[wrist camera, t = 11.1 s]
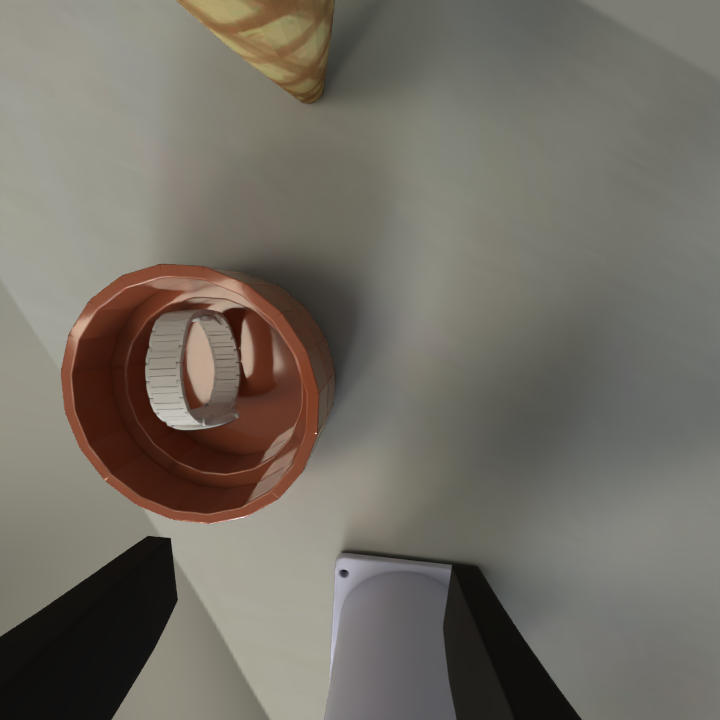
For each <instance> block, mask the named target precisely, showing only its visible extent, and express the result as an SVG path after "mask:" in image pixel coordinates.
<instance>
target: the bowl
mask: <svg viewBox="0 0 720 720" xmlns="http://www.w3.org/2000/svg"><path fill="white" fill-rule="evenodd" d="M201 309H209V310H214V311H219V312H220V313H222V314H223V315H224V316H225V317H226V318H227V320H228V321H229V324H230V325H229V326H231V328H232V330H233V333H234V337H235V339H236V342H237V346H238V350H239V355H240V362H238V363H241V375H238V376H241V382H240V388H239V394H238V398H237V400H236V402H237V408H236V411H237V412H239V413H240V417H239V418H236V419H235V420H234V421H233V422H231V423H228V424H226V425H223V426H219V427H215V428H210V429H203V430H193V431H182V430H177V429H175V428H173V427H170V426H167V423H166V422H164V421H162V420H161V419H160V418H159V417H157V415H156V413H155V412H154V411H153V408H152V406H151V404H150V399H151V398H149V396H148V392H147V387H146V383H147V382H150V381H146V377H145V367H146V365H148V364H146V356H147V352H148V349H149V348H151V347H149V341H150V336H151V333H152V332H153V331H152V329H153V326H154V324H155V322H156V320H157V319H159V318H160V316H161V315H163V314H165V313H170V312H173V311H184V310H201ZM187 332H188V334H187V339H186V346H184V347H185V352H184V358H183V362H182V364H183V381H184V387H185V393H186V396H185V397H186V398H187V401H188V404H189V406H190V410H192V409H196V408H200V407H202V406H203V405H204V404H205V403H208V402H209V400H210V395H211V392H212V389H214V388H213V382H214V377H217V376H214V364H216V363H213V357H212V351H214V350H211V349H210V346H209V343H208V339H207V338H206V335H205V333H204V331H203V328H202V327H201V326H200V324H199V323H198V322H191V324H190V327H189V329H188V331H187ZM235 350H236V349H235ZM334 371H335V369H334V365H333V361H332V358H331V354H330V351H329V347H328V343H327V340H326V337H325V336H324V334H323V333H322V331H321V329H320V328H319V326H318V325H317V323H316V322H315V320H314V319H313V317H312V316H311V314H310V313H309V311H308V310H307V309H306V308H305V307H304V306H303V305H302V304H301V303H299V302H298V301H297V300H296V299H295V298H293V297H292V296H291V295H290V294H288V293H287V292H286V291H285V290H284V289H282V288H281V287H279V286H277V285H275V284H272V283H270V282H267V281H265V280H262V279H260V278H257V277H255V276H252V275H250V274H247V273H241V272H235V271H229V270H223V269H217V268H212V267H206V266H194V265H175V264H158V265H155V266H151V267H148V268H145V269H141V270H138V271H135V272H132V273H128V274H125V275H122V276H121V277H119V278H118V279H116V280H115V281H114V282H112V283H111V284H110V285H108V286H107V287H106V288H105V289H103V290H102V291H101V292H99V293H98V294H97V295H96V296H94V297H93V298H92V299H90V301H89V302H88V303H87V305H86V307H85V308H84V310H83V311H82V313H81V315H80V316H79V318H78V320H77V321H76V323H75V324H74V326H73V328H72V329H71V331H70V333H69V335H68V340H67V344H66V349H65V354H64V359H63V364H62V368H61V380H62V390H63V399H64V408H65V411H66V412H65V413H66V416H67V418H68V421H69V423H70V425H71V428H72V431H73V433H74V435H75V437H76V440H77V443H78V445H79V447H80V448H81V451H82V452H83V453H84V454H85V456H86V457H87V458H88V460H89V461H90V462H91V464H92V465H93V466H94V467H95V469H96V470H97V471H98V472H99V474H100V475H101V476H102V478H103V479H104V480H106V482H107V483H108V484H110V485H111V486H112V487H114V488H115V489H116V490H118V491H119V492H120V493H121V494H123V495H124V496H125V497H127V498H128V499H129V500H131V501H132V502H133V503H135V504H137V505H138V506H140V507H143V508H145V509H148V510H150V511H152V512H155V513H157V514H160V515H162V516H165V517H167V518H169V519H173V520H179V521H188V522H197V523H206V524H210V523H211V524H213V523H218V522H223V521H228V520H233V519H239V518H244V517H247V516H249V515H251V514H253V513H255V512H257V511H258V510H260V509H262V508H264V507H265V506H267V505H269V504H271V503H272V502H274V501H276V500H278V499H279V498H280V497H281V496H282V495H283V494H284V493H285V492H286V490H287V489H288V488H289V487H290V486H291V485H292V483H293V482H294V481H295V480H296V479H297V478H298V477H299V475H300V474H301V473H302V472H303V470H304V469H305V467H306V465H307V463H308V461H309V459H310V457H311V455H312V453H313V451H314V449H315V447H316V445H317V443H318V441H319V439H320V437H321V435H322V433H323V430H324V428H325V425H326V423H327V420H328V418H329V415H330V413H331V410H332V407H333V405H334V404H333V403H334V389H335V372H334ZM234 372H237V371H234ZM166 376H167V375H166Z"/></svg>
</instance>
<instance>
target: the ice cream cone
mask: <svg viewBox="0 0 720 720" xmlns="http://www.w3.org/2000/svg"><path fill="white" fill-rule="evenodd" d="M176 1H177V2H178V3H179V4H181V5H182V6H183V7H184V8H185V9H186V10H187V11H188V12H190V13H191V14H192V15H193V16H194V17H195V18H196V19H198V20H199V21H200V22H201V23H202V24H203V25H204V26H206V27H207V28H208V29H209V30H210V31H211V32H212V33H214V34H215V35H216V36H217V37H218V38H219V39H220V40H222V41H223V42H224V43H225V44H226V45H227V46H229V47H230V48H231V49H232V50H234V51H235V52H236V53H237V54H239V55H240V56H241V57H242V58H244V59H245V60H246V61H247V62H249V63H250V64H251V65H252V66H254V67H255V68H256V69H257V70H259V71H260V72H261V73H263V74H264V75H265V76H267V77H268V78H269V79H271V80H272V81H274V82H275V83H276V84H278V85H279V86H280V87H282V88H283V89H284V90H286V91H287V92H288V93H290V94H291V95H292V96H294V97H295V98H296V99H298V100H299V101H301V102H302V103H307V104H310V103H314V102H316V101H317V100H318V99H320V98H321V96H322V94H323V89H324V82H325V75H326V68H327V61H328V54H329V47H330V40H331V32H332V23H333V13H334V4H335V0H176Z"/></svg>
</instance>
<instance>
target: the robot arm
mask: <svg viewBox="0 0 720 720" xmlns="http://www.w3.org/2000/svg"><path fill="white" fill-rule="evenodd" d="M342 569H345V570H347V572H343V571H342ZM177 600H178V598H177V591H176V581H175V572H174V563H173V554H172V545H171V538H164V537H153V536H147V537H146V538H144V539H143V540H141V541H140V542H138V543H137V544H135V545H134V546H132V547H131V548H129V549H128V550H126V551H125V552H124V553H122V554H121V555H119V556H118V557H116V558H115V559H114V560H112V561H111V562H109V563H108V564H107V565H105V566H104V567H102V568H101V569H99V570H98V571H97V572H96V573H94V574H92V575H91V576H90V577H88V578H87V579H85V580H84V581H82V582H81V583H79V584H78V585H77V586H75V587H74V588H72V589H71V590H69V591H68V592H66V593H65V594H64V595H62V596H61V597H59V598H58V599H56V600H55V601H53V602H52V603H51V604H49V605H48V606H46V607H45V608H43V609H42V610H41V611H39V612H38V613H36V614H34V615H33V616H31V617H30V618H28V619H27V620H25V621H24V622H22V623H21V624H19V625H17V626H16V627H15V628H13V629H11V630H10V631H8V632H7V633H5V634H4V635H2V636H1V637H0V720H111V719H112V718H113V716H114V715H115V713H116V711H117V710H118V708H119V707H120V705H121V703H122V702H123V700H124V698H125V697H126V695H127V693H128V692H129V690H130V688H131V687H132V685H133V683H134V682H135V680H136V678H137V677H138V675H139V674H140V672H141V670H142V669H143V667H144V665H145V664H146V662H147V660H148V658H149V657H150V655H151V653H152V652H153V650H154V648H155V646H156V644H157V642H158V640H159V638H160V636H161V634H162V632H163V630H164V628H165V626H166V624H167V622H168V620H169V618H170V616H171V613H172V611H173V609H174V607H175V605H176V603H177ZM324 720H582V719H581V718H580V717H579V715H578V714H577V713H576V711H575V710H574V709H573V707H572V706H571V705H570V703H569V702H568V701H567V699H566V698H565V697H564V695H563V694H562V692H561V691H560V690H559V688H558V687H557V685H556V684H555V683H554V681H553V680H552V678H551V677H550V676H549V674H548V673H547V671H546V670H545V668H544V667H543V666H542V664H541V663H540V661H539V660H538V658H537V657H536V655H535V654H534V653H533V651H532V650H531V648H530V647H529V645H528V644H527V642H526V641H525V640H524V638H523V637H522V635H521V634H520V632H519V631H518V629H517V628H516V626H515V625H514V623H513V621H512V620H511V618H510V617H509V615H508V614H507V612H506V611H505V609H504V608H503V606H502V604H501V603H500V601H499V600H498V598H497V596H496V595H495V593H494V592H493V590H492V588H491V587H490V585H489V584H488V582H487V580H486V579H485V577H484V575H483V574H482V572H481V571H480V569H479V568H478V567H476V566H466V565H455V564H452V565H447V564H438V563H430V562H421V561H412V560H403V559H395V558H386V557H377V556H369V555H360V554H351V553H341V554H339V555H338V556H337V559H336V565H335V585H334V604H333V624H332V643H331V662H330V682H329V690H328V696H327V703H326V709H325V716H324Z"/></svg>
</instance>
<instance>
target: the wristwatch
mask: <svg viewBox="0 0 720 720" xmlns="http://www.w3.org/2000/svg"><path fill="white" fill-rule="evenodd" d="M191 322H198V323H199V324H200V326H201V327H202V328H203V331H204V333H205V335H206V338H207V339H208V343H209V346H210V349H211V350H214V351H212V357H213V363H216V364H214V376H217V377H214V382H213V388H214V389H212V392H211V395H210V400H209V402H208V403H205V404H204V405H203V406H202V407H200V408H196V409H192V410H190V406H189V404H188V401H187V398H186V397H185V396H186V393H185V387H184V381H183V364H182V362H183V358H184V352H185V347H184V346H186V339H187V334H188V332H187V331H188V329H189V327H190V324H191ZM229 325H230V324H229V321H228V320H227V318H226V317H225V316H224V315H223V314H222V313H220V312H219V311H214V310H209V309H201V310H184V311H173V312H170V313H165V314H163V315H161V316H160V318H159V319H157V320H156V322H155V324H154V326H153V329H152V331H153V332H152V333H151V336H150V341H149V347H151V348H149V349H148V352H147V356H146V364H148V365H146V367H145V377H146V381H150V382H147V383H146V387H147V392H148V396H149V398H151V399H150V404H151V406H152V408H153V411H154V412H155V413H156V415H157V417H159V418H160V419H161V420H162V421H164V422H166V423H167V426H170V427H173V428H175V429H177V430H182V431H193V430H203V429H210V428H215V427H219V426H223V425H226V424H228V423H231V422H233V421H234V420H235V419H236V418H239V417H240V413H239V412H237V411H236V408H237V402H236V400H237V398H238V394H239V388H240V382H241V376H238V375H241V363H238V362H240V355H239V350H238V346H237V342H236V339H235V337H234V333H233V330H232V328H231V326H229ZM235 349H236V350H235ZM234 371H237V372H234ZM166 375H167V376H166Z"/></svg>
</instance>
